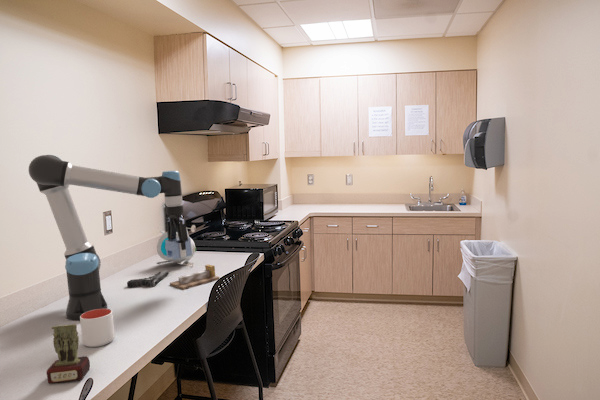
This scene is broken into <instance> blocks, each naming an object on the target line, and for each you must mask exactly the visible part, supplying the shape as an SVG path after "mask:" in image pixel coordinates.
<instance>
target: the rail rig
mask: <svg viewBox="0 0 600 400" xmlns="http://www.w3.org/2000/svg"><path fill="white" fill-rule="evenodd" d="M204 267H205V270H201V271H197V272H194V273H190V274H185V275H183V276H182V275H181V276H180V277H178V280H176V281H172V282H169V285H170V286H171V285H172V287H174V286H175V288H177V287H178V288H179V289H180V290H187V289H190V288H194V287H197V286H200V285H201V286H202V285H205V284H208V283H210V282H214V281H218V280H220V279H221V278H220V276H218V275H216V268H215V265H212V264H206V265H205V266H204ZM219 278H220V279H219Z"/></svg>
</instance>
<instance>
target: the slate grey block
mask: <svg viewBox="0 0 600 400" xmlns="http://www.w3.org/2000/svg"><path fill="white" fill-rule="evenodd" d="M190 238H191V237H190ZM190 238H188V241H186V242H185V245H186V256H190V255H192V250H191V241H190ZM178 242H180V240H179V237H178V238H174V239H169V240H165V243H166V252H167V258H171V257H173V259H174V260H175V259H178V258H182V257H180V249H179V243H178ZM186 256H185V257H186Z"/></svg>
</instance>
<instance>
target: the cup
mask: <svg viewBox="0 0 600 400" xmlns="http://www.w3.org/2000/svg"><path fill="white" fill-rule="evenodd" d="M79 322H80V329H81V330H80V331H81V332H80V333H81V339H82V344H83V345H84V346H85V347H88V348H97V347H103V346H105V345H108V344H110V343H112V342H113V341H114V339H115V336H116V335H115V326H114V316H113V310H112V309H111V308H110V309H109V308H108V309H96V310H91V311H88V312H85V313H83V314H82V315H81V316H80V320H79Z"/></svg>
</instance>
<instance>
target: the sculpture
mask: <svg viewBox="0 0 600 400" xmlns="http://www.w3.org/2000/svg"><path fill="white" fill-rule="evenodd" d="M51 330H53V333H52V335H53V340H52V341H53V347H54V351H55V353H56V354H57V356H58V359H57V360H55V361H54V362H53V363H52V364H51V365H50V366H49V367H48V368H47V369H46V378H47V383H48V384H53V383H55V384H56V383H65V382H77V381H82V380H83V379H84V378H85V376H86V374H87V373H88V372H89V371H90V367H91V366H90V364H91V361H90V358H89V356H79V357H78V349H79V342H80V340H79V333H78V329H77V324H66V325H65V324H64V325H63V324H62V325H55V326H52V327H51Z"/></svg>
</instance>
